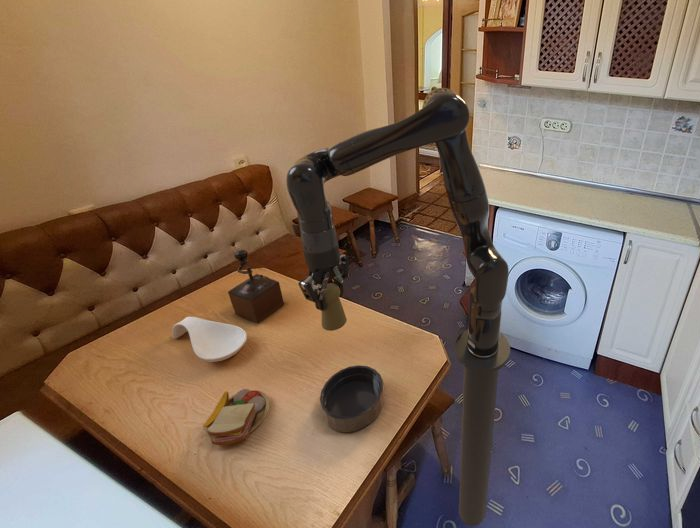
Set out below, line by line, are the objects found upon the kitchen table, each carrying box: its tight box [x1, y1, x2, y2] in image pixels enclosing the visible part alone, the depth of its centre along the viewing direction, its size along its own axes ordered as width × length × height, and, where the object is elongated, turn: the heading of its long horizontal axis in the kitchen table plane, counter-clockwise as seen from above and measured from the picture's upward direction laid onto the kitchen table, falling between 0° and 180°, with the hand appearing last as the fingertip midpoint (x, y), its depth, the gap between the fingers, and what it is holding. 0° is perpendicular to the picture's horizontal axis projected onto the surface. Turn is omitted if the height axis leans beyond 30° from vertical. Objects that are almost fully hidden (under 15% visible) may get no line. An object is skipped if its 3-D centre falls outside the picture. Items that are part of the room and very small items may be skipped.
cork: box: [318, 282, 348, 332], centre depth 88 cm, size 6×6×11 cm
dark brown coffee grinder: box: [227, 249, 285, 325], centre depth 112 cm, size 16×11×18 cm
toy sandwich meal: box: [202, 388, 270, 446], centre depth 81 cm, size 12×14×5 cm
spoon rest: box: [171, 316, 248, 363], centre depth 99 cm, size 24×12×7 cm, turn 70°
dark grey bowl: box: [319, 364, 385, 433], centre depth 85 cm, size 14×14×5 cm
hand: (330, 302), depth 88 cm, fingers closed on cork, 5 cm apart
